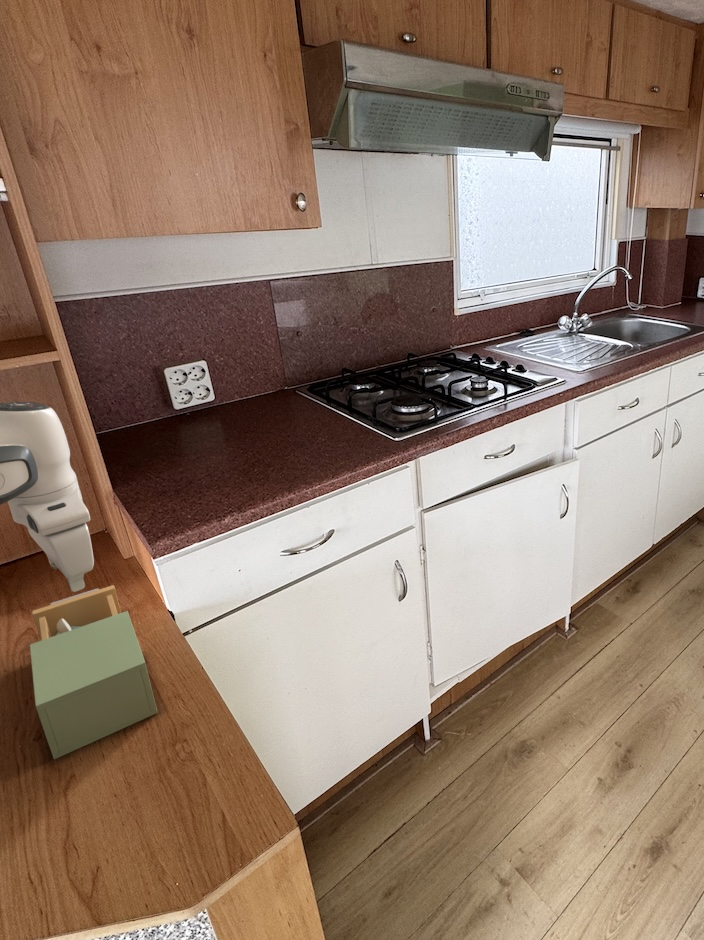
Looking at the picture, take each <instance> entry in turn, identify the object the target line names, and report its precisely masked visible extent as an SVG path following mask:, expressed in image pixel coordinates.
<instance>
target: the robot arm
mask: <svg viewBox="0 0 704 940" xmlns="http://www.w3.org/2000/svg"><path fill="white" fill-rule="evenodd" d="M65 432H66V431H65V429H64V427H63V423H62V422H61V419H60V418H59V415H58V413H57V412H56V411H55V410H54V409H53V408H52V407H50V406H49V405H47V404H43V403H39V402H33V401H32V402H31V401H7V402H0V506H1V505H3V504H5V503H7V504H8V507H9V510H10V514H11V516H12V520H13V522H15V523H16V524H19V525H23V526H25V527H26V529H27V531H28V533H29V535H30V537H31V538H32V539H33V541H34V542H35V543H36V544H37V545H38V547H40V549H41V550H42V551H43V552H44V553H45V555H46V557H47V560H48V562H49V565H50V567H51V568H52V569H53V570H57V569H58V570H59V571H60V572H61V573H62V574H63V576H64V577H65V578H66V581H67V586H68V588H69V589H70V591H71V592H73V593H76V592H78V591H81V590H84V589H85V587H86V584H85V580H84V576H85V574H87V573H89V572H91V571H92V570H93V569H94V566H95V558H94V552H93V547H92V546H93V545H92V539H91V535H90V530H89V526H88V524H87V523H88V522H90V521H91V514H90V512H89V509H88V507H87V505H86V504H85V502H84V500H83V496H82V492H81V488H80V485H79V482H78V477H77V474H76V472H75V471H74V469H73V468H72V465H71V460H70V459H71V450H70V446H69V442H68V439H67V435H66V433H65Z"/></svg>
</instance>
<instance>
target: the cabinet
mask: <svg viewBox="0 0 704 940" xmlns="http://www.w3.org/2000/svg"><path fill="white" fill-rule="evenodd" d="M141 648H142V647H141V645H140V643H139V639H138V637H137V634H136V631H135V628H134V625H133V622H132V620H131V617H130V614H129V611H128V610H126V611H123V612H122V611H121V613H120V614H117V615H114V616H111V617H108V618H105V619H102V620H99V621H96V622H94V623H91V624H88V625H85V626H82V627H79V628H76V629H73V630H71V631H68V632H65V633H62V634H59V635H56V636H53V637H50V638H47V639H45V640H42V641H41V640H39V641H36V642H34V643H33V642H32V643H30V644H29V651H30V662H31V673H32V682H33V693H34V703H35V709H36V712H37V714H38V717H39V721H40V723H41V727H42V729H43V732H44V735H45V738H46V741H47V744H48V746H49V750H50V753H51V755H52V758H53V760H57V759H58V758H61V757H63V756H65V755H68V754H70V753H73V752H75V751H77V750H79V749H81V748H84V746H88V745H90V744H92V743H94V742H96V741H98V740H101V739H103V738H106V737H107V736H110V735H112V734H114V733H116V732H119V731H121V730H124V729H125V728H128V727H130V726H132V725H134V724H137V723H139V722H140V721H143V720H145V719H147V718H150V717H152V716H154V715H156V714H158V712H159V711H158V708H157V705H156V701H155V700H156V699H155V697H154V691H153V688H152V684H151V680H150V676H149V671H148V667H147V664H146V661H145V657H144V654H143V651H142V649H141Z"/></svg>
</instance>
